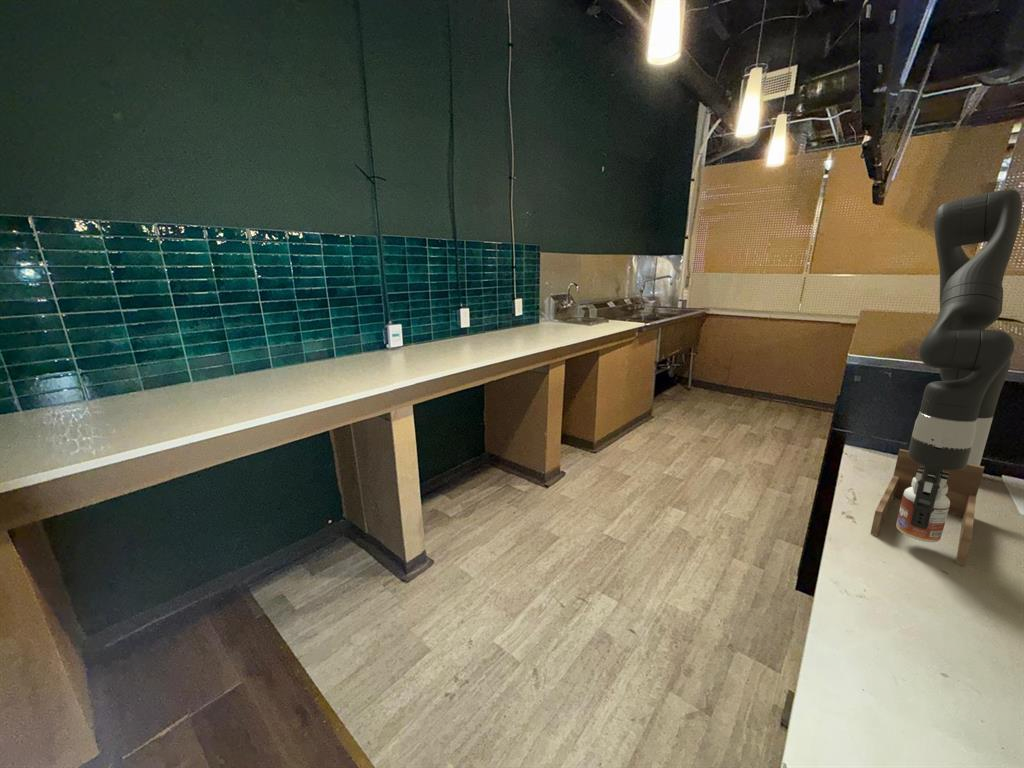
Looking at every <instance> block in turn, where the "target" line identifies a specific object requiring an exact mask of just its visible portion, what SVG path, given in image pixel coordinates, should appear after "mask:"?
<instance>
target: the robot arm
mask: <svg viewBox="0 0 1024 768" xmlns="http://www.w3.org/2000/svg"><path fill="white" fill-rule="evenodd" d="M1022 209H1023V204H1022V197H1021V195H1020V192H1018V191H1017V190H1016V189H1012V188H1010V189H1009V188H1008V189H1001V190H995V191H991V192H986V193H981V194H976V195H972V196H971V195H970V196H967V197H962V198H958V199H953V200H951V201H947V202H944V203H943V204H941V205H940V206H939V207H938V208H937V210H936V213H935V215H934V221H933V230H934V233H933V234H934V240H935V248H936V255H937V260H938V261H937V262H938V267H939V313H938V315H937V319H936V320H935V322H934V324H933V325H932V327H931V328H930V330H929V331H928V333H927V334H926V336H925V337H924V339H923V340H922V342H921V344H920V345H919V349H918V356H919V358H920V359H919V360H920V361H921V362H922V363H923V364H924V365H926V366H927V367H930V368H933V369H939V375H940V379H941V380H938V381H932V382H929V383H928V384H926V386H925V389H924V391H923V395H922V400H921V402H920V403H921V404H920V408H919V413H918V415H917V417H916V419H915V422H914V427H913V430H912V434H911V439H910V443H909V447H908V457H909V458H910V459H911V460H913V461H914V462H917V463H920V464H922V465H923V466H924V467H920V466H919V468H918V470H917V473H916V477H915V478H916V480H917V481H916V484H915V488H914V494H915V495H916V497H915V501H914V503H913V505H912V506H913V508H914V511H913V515H912V519H911V525H912V526H915V527H918V528H922V529H927V527H928V523H929V519H930V515H931V513H932V511H933V512H934V508H933V507H934V503H935V501H938V500H940V497H941V493H942V489H943V487H944V486H945V485H946V482H947V478H948V475H949V473H946V472H943V471H944V470H951V471H957V470H962V469H965V468H966V466H967V463H969V464H974V465H979V466H981V462H982V459H983V455H984V451H985V447H986V444H987V440H988V438H989V433H990V430H991V425H992V424H993V423H992V422H993V419H994V415H995V412H996V408H997V406H998V401H999V398H1000V394H1001V393H1002V390H1003V386H1004V384H1005V381H1006V378H1007V375H1008V373H1009V370H1010V366H1011V358H1012V356H1013V354H1014V351H1015V341H1014V339H1013V338H1012V337H1011V335H1010V334H1008V333H1007V332H1005V331H1002V330H997V329H988V327H990V326H991V325H993V324H994V323H995V322H996V321H997V320H998V319H999V317H1000V316H1001V314H1002V313H1003V304H1004V303H1003V302H1004V299H1003V298H1004V288H1003V281H1004V276H1005V273H1006V271H1007V268H1008V267H1007V266H1008V264H1009V262H1010V259H1011V255H1012V253H1013V250H1014V247H1015V243H1016V240H1017V237H1018V232H1019V228H1020V225H1021V220H1022V211H1023V210H1022ZM983 243H986V244H985V245H984V247H983V248H982V249H981V250H979V251H978V252H977V253H976V254H975V255H974V256H973V257H972V258H970V257H969V256H968V255H967V254H966V252H965V250H964V249H963V247H962V246H968V245H975V244H983ZM939 483H940V484H939ZM937 491H938V492H937ZM919 499H923V500H926V501H929V502H930V505H928V504H924V503H920V502H919Z"/></svg>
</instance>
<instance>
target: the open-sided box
mask: <svg viewBox="0 0 1024 768" xmlns="http://www.w3.org/2000/svg"><path fill="white" fill-rule="evenodd" d="M908 450H909V449H908ZM908 450H907V449H903V448H899V449H898V452H897V453H898V455H897V459H896V462H895V463H896V464H895V467H894V472H893V475H892V478H891V480H890V481H889V484H888V486H887V487H886V489H885V491H884V493H883V495H882V497H881V498H880V500H879V503H878V504H877V506H876V508H875V511H874V515H873V520H872V525H871V530H870V533H871V534H870V535H872V534H874V535H873V536H875V535H877V536H878V534H879V532H880V530H881V527H882V525H883V524H884V522H885V519H886V517H887V514H888V513H889V510H890V508H891V506H892V505H893V502H894V500H895V499H897V500H901V501H902V498H903V494H904V491H905V490H906V489H907V488H909V487H912V484H911V483H912V480H913V478H914V477H916V473H917V470H918V468H919V466H920V467H924V466H923V465H922V464H920V463H917V462H914V461H913V460H911V459H910V458H909V457H908ZM984 470H985V466H984V465H983V466H982V465H980V466H979V465H974V464H969V463H967V466H966V468H965V469H962V470H957V471H951V470H944V471H943V472H946V473H949V475H948V478H947V482H946V484H947V485H948V491H947V494H946V495H945V496H946V497H947V498H948V499H949V500H950V507H949V510H948V514H952V515H956V516H959V517H962V521H961V528H960V533H959V540H958V547H957V553H956V559H955V564H957V565H959V566H963V567H965V564H966V559H967V556H968V554H969V550H970V547H971V543H972V539H973V530H974V529H973V528H974V522H975V521H974V519H975V512H976V502H977V495H978V492H979V488H980V485H981V483H982V482H981V481H982V478H983V475H984V472H985V471H984ZM882 523H883V524H882Z"/></svg>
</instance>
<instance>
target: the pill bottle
mask: <svg viewBox="0 0 1024 768" xmlns="http://www.w3.org/2000/svg"><path fill="white" fill-rule="evenodd" d="M916 481H917V480H916V478H915V477H914V478H913V480H912V483H911V484H912V487H909V488H907V489H906V490H905V491H904V494H903V498H902V500H901V502H900V507H899V509H898V510H899V511H898V515H897V519H896V525H895V527H896V528H897V530H898V531H899V532H901V533H902V534H903V535H905V536H906V537H908V538H911V539H913V540H917V541H921V542H925V543H937V542H939V541H940V540H941V538H942V536H943V532H944V528H945V525H946V520H947V517H948V514H949V513H948V510H949V507H950V500H949V499H948V498H947V497H946V496H945V495H946V494H947V491H948V485H947V484H946V485H945V486H944V487H943V489H942V493H941V497H940V500H938V501H935V503H934V507H933V508H934V512H933V511H932V513H931V515H930V519H929V523H928V527H927V529H922V528H918V527H915V526H912V525H911V519H912V515H913V511H914V508H913V506H912V505H913V503H914V501H915V497H916V495H915V494H914V488H915V484H916ZM939 484H940V483H939ZM937 492H938V491H937ZM919 502H920V503H924V504H928V505H930V502H929V501H926V500H923V499H919Z"/></svg>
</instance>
